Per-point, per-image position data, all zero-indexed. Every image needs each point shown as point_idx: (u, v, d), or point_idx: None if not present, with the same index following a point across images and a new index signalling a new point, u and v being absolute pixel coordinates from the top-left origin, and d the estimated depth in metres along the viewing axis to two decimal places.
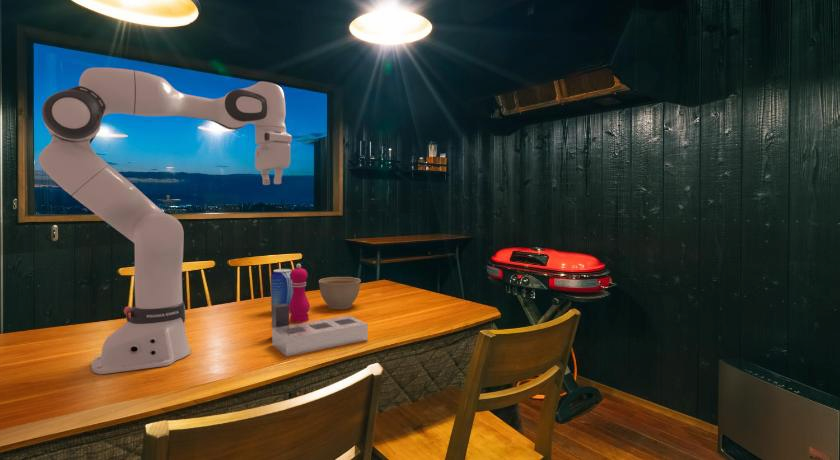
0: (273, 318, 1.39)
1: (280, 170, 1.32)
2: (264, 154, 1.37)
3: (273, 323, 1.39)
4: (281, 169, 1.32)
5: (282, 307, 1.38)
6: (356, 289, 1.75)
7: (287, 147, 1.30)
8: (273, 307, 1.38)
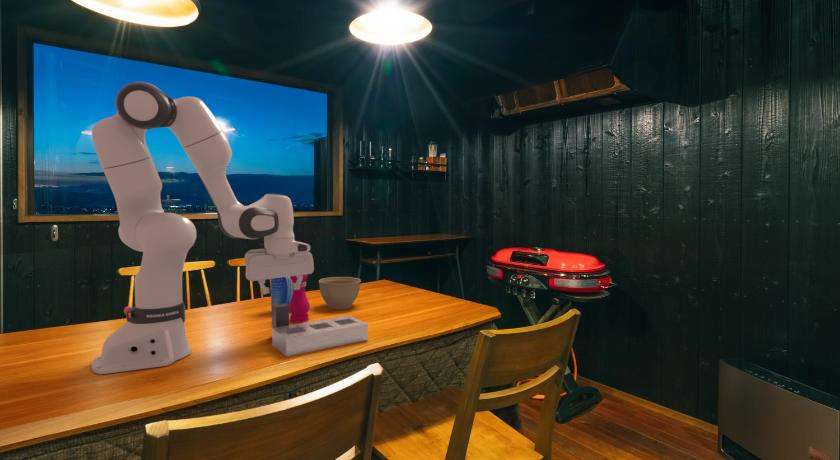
0: (273, 318, 1.39)
1: None
2: (277, 263, 1.36)
3: (273, 323, 1.39)
4: None
5: (282, 307, 1.38)
6: (356, 289, 1.75)
7: None
8: (273, 307, 1.38)
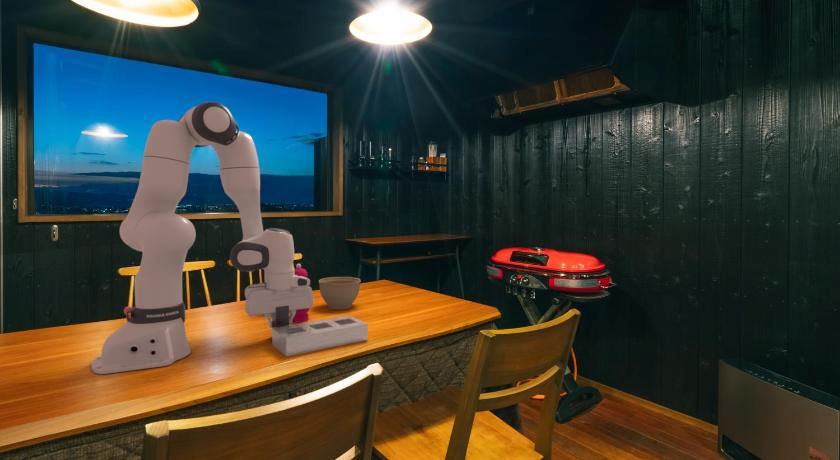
0: (273, 318, 1.39)
1: None
2: (276, 298, 1.37)
3: None
4: None
5: (282, 307, 1.38)
6: (356, 289, 1.75)
7: None
8: None
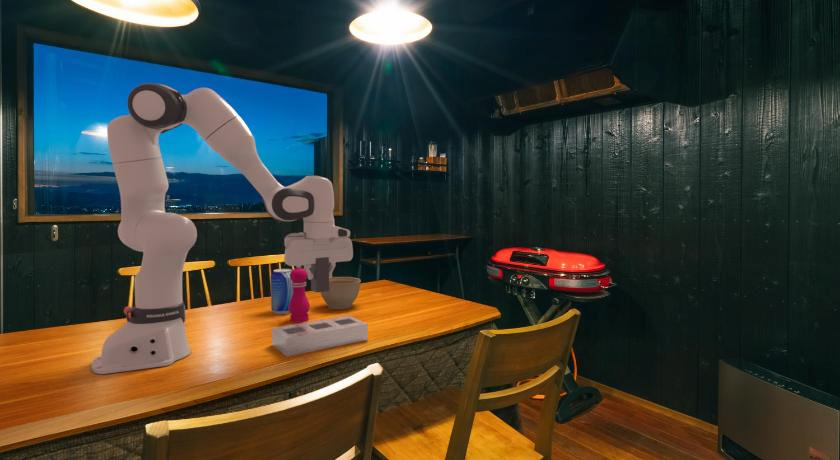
0: (312, 270, 1.33)
1: None
2: (316, 248, 1.31)
3: None
4: None
5: (322, 258, 1.31)
6: (356, 289, 1.75)
7: None
8: None
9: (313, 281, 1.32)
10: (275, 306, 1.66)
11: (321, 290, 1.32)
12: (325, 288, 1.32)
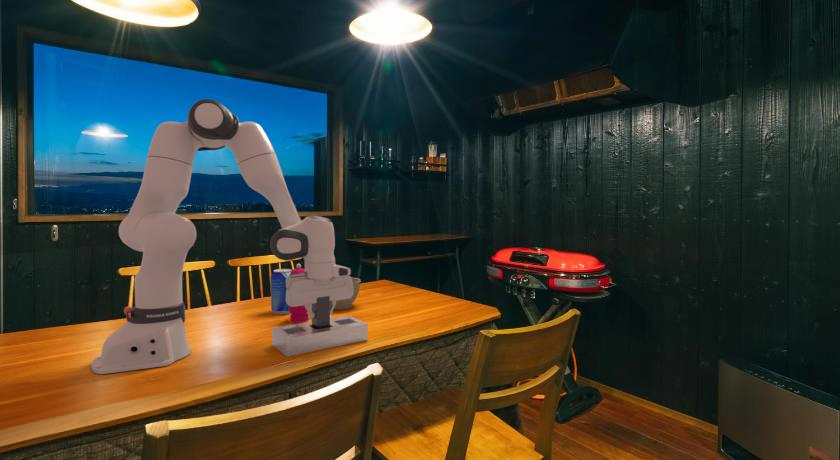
0: (313, 309, 1.34)
1: None
2: (317, 288, 1.32)
3: None
4: None
5: (323, 297, 1.33)
6: (356, 289, 1.75)
7: None
8: None
9: (314, 320, 1.34)
10: (275, 306, 1.66)
11: None
12: (325, 326, 1.34)
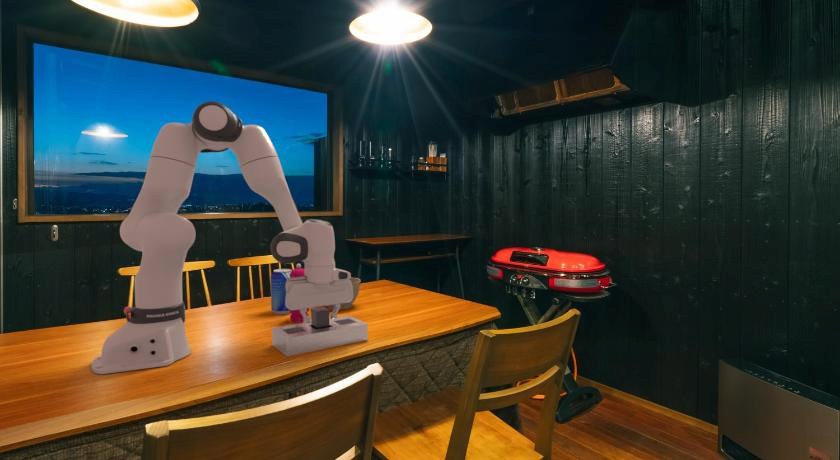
0: (313, 323, 1.34)
1: None
2: (317, 292, 1.32)
3: None
4: None
5: (322, 311, 1.33)
6: (356, 289, 1.75)
7: None
8: (313, 311, 1.33)
9: None
10: (275, 306, 1.66)
11: None
12: None
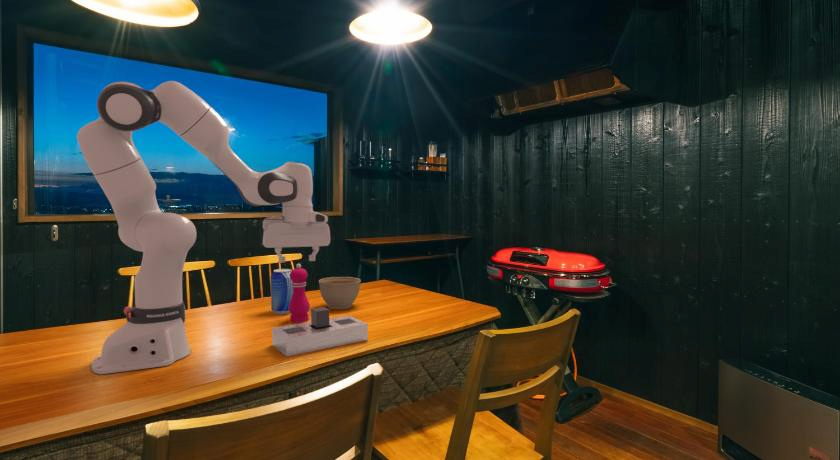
0: (313, 323, 1.34)
1: None
2: (294, 232, 1.36)
3: None
4: None
5: (322, 311, 1.33)
6: (356, 289, 1.75)
7: None
8: (313, 311, 1.33)
9: None
10: (275, 306, 1.66)
11: None
12: None
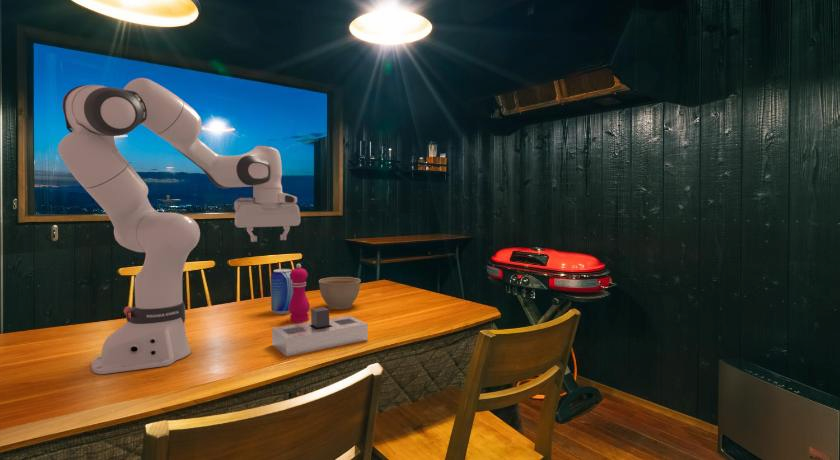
0: (313, 323, 1.34)
1: None
2: (265, 213, 1.43)
3: None
4: None
5: (322, 311, 1.33)
6: (356, 289, 1.75)
7: None
8: (313, 311, 1.33)
9: None
10: (275, 306, 1.66)
11: None
12: None
